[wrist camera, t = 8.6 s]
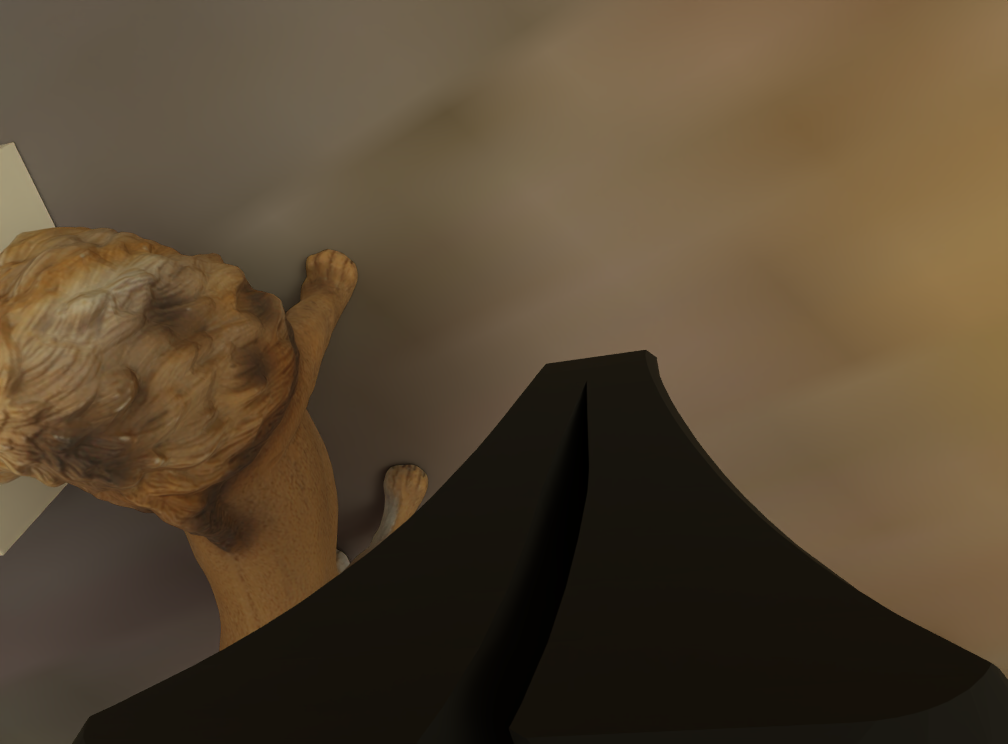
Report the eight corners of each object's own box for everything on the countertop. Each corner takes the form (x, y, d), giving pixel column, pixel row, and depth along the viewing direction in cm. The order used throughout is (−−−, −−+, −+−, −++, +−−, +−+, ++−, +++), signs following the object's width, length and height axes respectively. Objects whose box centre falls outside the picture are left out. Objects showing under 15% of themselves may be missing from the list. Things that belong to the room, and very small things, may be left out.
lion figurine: (87, 167, 21) (-244, 358, 13) (289, 94, 19) (54, 260, 11) (349, 624, 27) (233, 935, 19) (515, 596, 26) (462, 920, 18)
